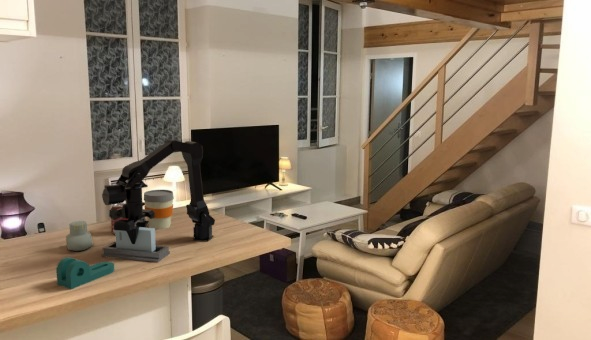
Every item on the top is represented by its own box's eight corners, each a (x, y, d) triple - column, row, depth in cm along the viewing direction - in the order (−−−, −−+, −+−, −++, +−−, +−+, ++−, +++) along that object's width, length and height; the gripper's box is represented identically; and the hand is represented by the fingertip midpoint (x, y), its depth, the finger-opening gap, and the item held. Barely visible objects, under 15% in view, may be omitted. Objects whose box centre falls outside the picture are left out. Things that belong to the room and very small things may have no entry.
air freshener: (93, 251, 182) (91, 225, 180) (68, 254, 178) (67, 228, 176) (89, 242, 192) (88, 217, 190) (66, 245, 188) (64, 220, 186)
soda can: (123, 236, 200) (122, 207, 198) (108, 234, 202) (106, 206, 200) (131, 231, 207) (130, 203, 205) (117, 229, 208) (116, 202, 206)
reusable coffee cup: (170, 230, 208) (169, 196, 206) (140, 230, 208) (139, 195, 206) (177, 222, 221) (176, 189, 218) (149, 221, 221) (148, 189, 218)
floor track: (169, 253, 181) (169, 245, 181) (158, 262, 172) (157, 254, 172) (116, 248, 186) (115, 240, 185) (101, 256, 177) (101, 248, 176)
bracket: (71, 290, 149) (69, 265, 148) (57, 285, 153) (55, 261, 151) (118, 270, 165) (117, 248, 163) (105, 266, 168) (103, 244, 167)
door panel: (155, 249, 179) (154, 228, 177) (151, 252, 176) (150, 230, 174) (120, 246, 182) (119, 225, 180) (116, 248, 179) (115, 227, 177)
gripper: (127, 193, 186) (129, 233, 189) (98, 205, 168) (100, 249, 171) (154, 195, 184) (156, 235, 187) (127, 207, 166) (129, 251, 169)
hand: (135, 242), depth 178 cm, fingers closed on door panel, 3 cm apart
